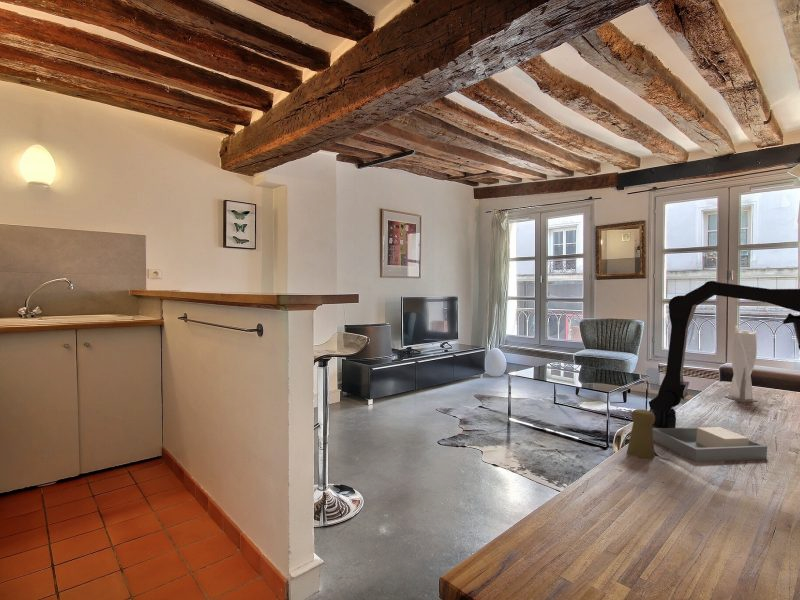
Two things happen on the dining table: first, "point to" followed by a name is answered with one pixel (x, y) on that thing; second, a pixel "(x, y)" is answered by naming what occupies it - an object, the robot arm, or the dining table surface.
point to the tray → (687, 446)
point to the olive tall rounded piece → (642, 434)
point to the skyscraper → (743, 365)
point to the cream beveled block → (719, 437)
